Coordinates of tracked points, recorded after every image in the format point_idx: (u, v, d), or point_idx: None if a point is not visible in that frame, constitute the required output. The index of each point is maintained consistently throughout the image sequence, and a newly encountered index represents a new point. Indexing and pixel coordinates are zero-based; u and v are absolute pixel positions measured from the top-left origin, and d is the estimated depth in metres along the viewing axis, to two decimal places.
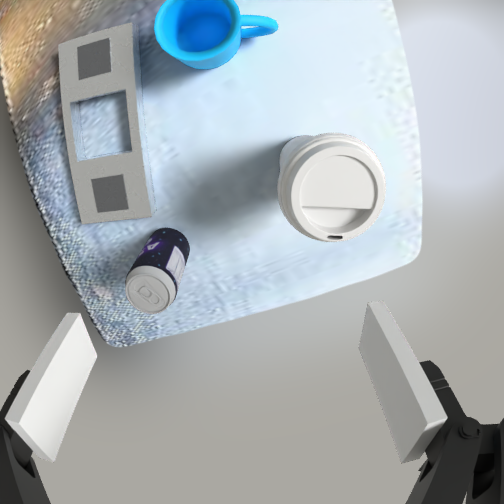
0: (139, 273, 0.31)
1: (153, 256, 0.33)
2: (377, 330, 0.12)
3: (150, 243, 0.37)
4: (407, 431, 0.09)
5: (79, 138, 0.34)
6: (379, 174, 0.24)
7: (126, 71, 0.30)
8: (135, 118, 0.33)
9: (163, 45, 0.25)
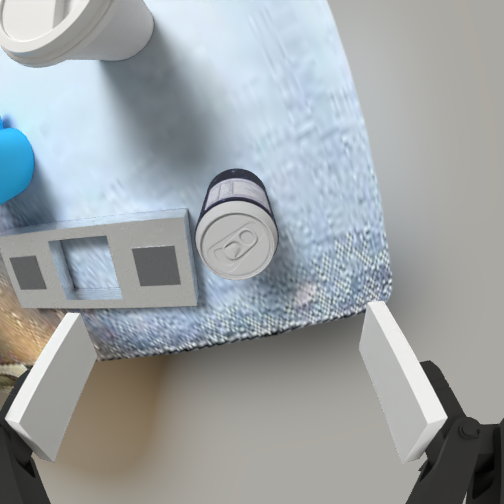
0: (201, 253, 0.21)
1: None
2: (377, 330, 0.12)
3: None
4: (407, 431, 0.09)
5: (104, 292, 0.35)
6: None
7: (33, 240, 0.30)
8: (72, 230, 0.30)
9: None
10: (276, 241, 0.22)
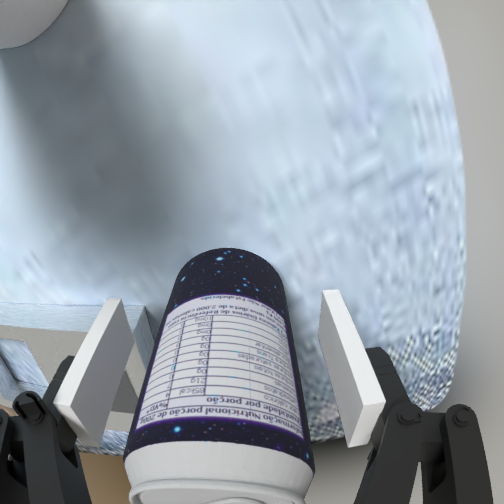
0: (143, 502, 0.07)
1: None
2: (329, 317, 0.13)
3: None
4: (350, 414, 0.10)
5: None
6: None
7: None
8: None
9: None
10: None
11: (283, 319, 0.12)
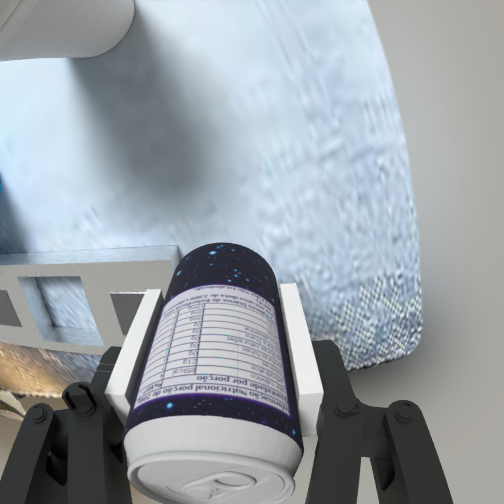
0: (142, 483, 0.08)
1: None
2: (283, 309, 0.14)
3: None
4: None
5: (85, 335, 0.28)
6: None
7: (2, 274, 0.24)
8: (41, 267, 0.23)
9: None
10: (298, 464, 0.08)
11: (273, 307, 0.13)
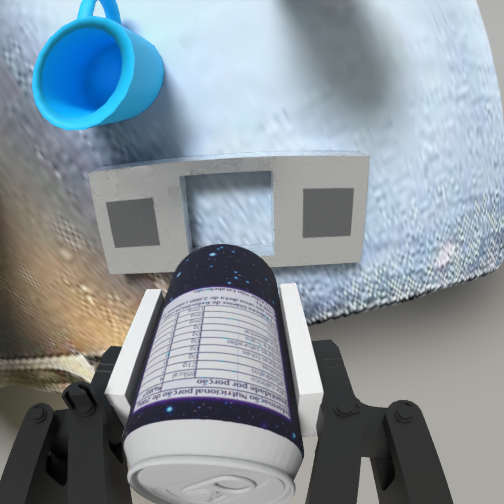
0: (142, 485, 0.08)
1: None
2: (283, 309, 0.14)
3: None
4: None
5: None
6: None
7: (154, 175, 0.25)
8: (223, 162, 0.25)
9: (108, 112, 0.18)
10: (299, 467, 0.08)
11: (273, 309, 0.13)
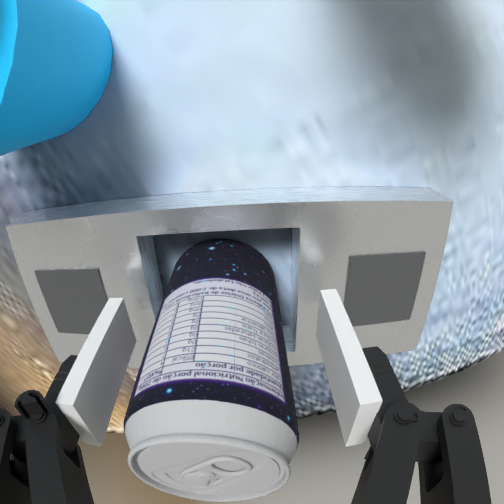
0: (142, 470, 0.08)
1: None
2: (326, 316, 0.13)
3: None
4: (347, 413, 0.10)
5: None
6: None
7: (96, 234, 0.14)
8: (211, 212, 0.14)
9: None
10: (294, 451, 0.09)
11: (270, 300, 0.14)
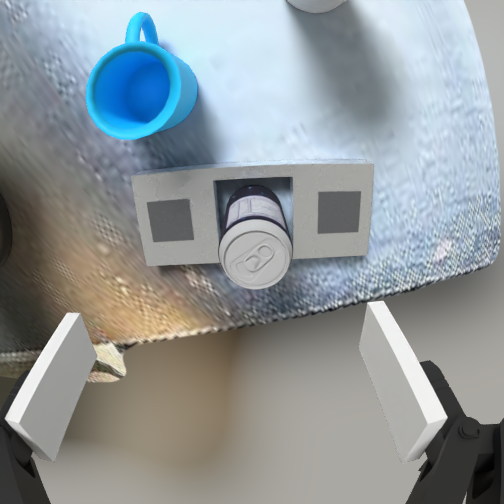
0: (224, 267, 0.24)
1: None
2: (377, 330, 0.12)
3: None
4: (407, 431, 0.09)
5: None
6: None
7: (191, 179, 0.30)
8: (251, 169, 0.30)
9: (158, 125, 0.23)
10: (291, 254, 0.24)
11: (279, 207, 0.29)
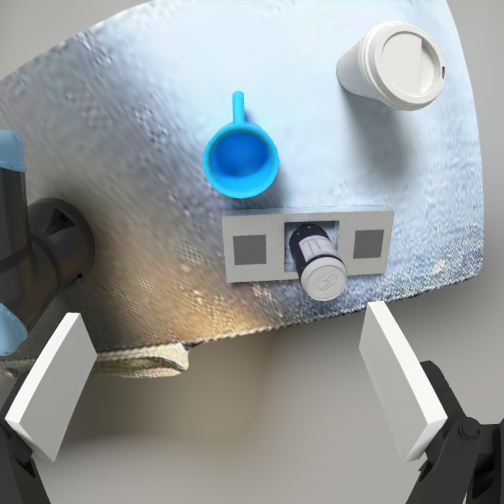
0: (305, 287, 0.37)
1: (298, 268, 0.39)
2: (377, 330, 0.12)
3: None
4: (407, 431, 0.09)
5: None
6: (394, 27, 0.21)
7: (268, 221, 0.43)
8: (311, 214, 0.42)
9: (260, 190, 0.35)
10: None
11: (331, 243, 0.42)
